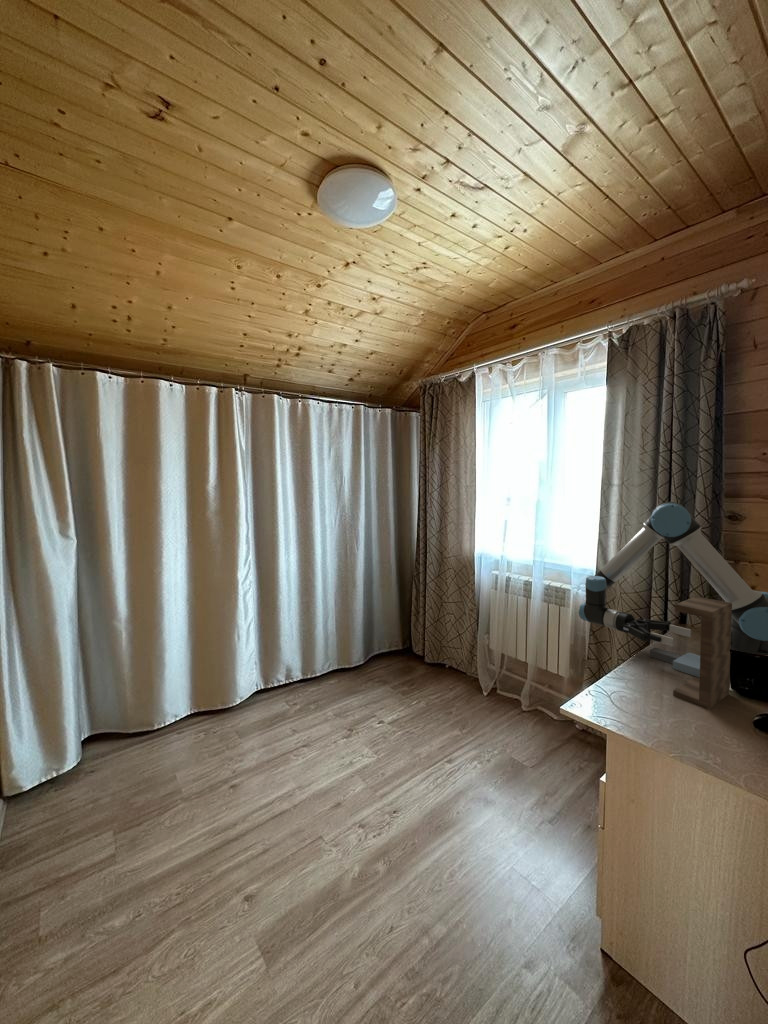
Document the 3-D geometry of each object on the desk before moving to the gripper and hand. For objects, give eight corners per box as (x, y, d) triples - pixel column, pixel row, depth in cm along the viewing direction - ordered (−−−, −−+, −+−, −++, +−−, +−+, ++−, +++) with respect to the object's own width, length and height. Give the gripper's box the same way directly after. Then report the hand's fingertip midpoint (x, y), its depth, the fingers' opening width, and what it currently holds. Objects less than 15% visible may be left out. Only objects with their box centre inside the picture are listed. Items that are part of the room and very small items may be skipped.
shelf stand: (693, 681, 128) (695, 596, 126) (728, 694, 120) (732, 603, 118) (673, 695, 120) (675, 604, 118) (709, 709, 113) (712, 612, 111)
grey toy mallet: (659, 651, 151) (660, 644, 151) (715, 668, 137) (715, 660, 137) (644, 660, 145) (644, 651, 145) (700, 678, 130) (700, 669, 130)
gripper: (635, 623, 164) (697, 639, 146) (601, 637, 151) (664, 657, 133) (635, 605, 164) (697, 620, 146) (601, 617, 151) (665, 635, 133)
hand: (682, 637), depth 139 cm, fingers open, 13 cm apart
